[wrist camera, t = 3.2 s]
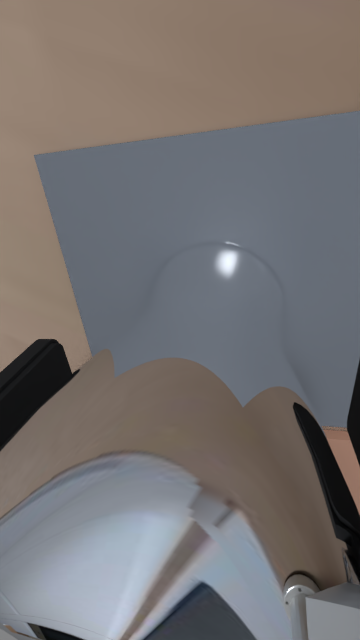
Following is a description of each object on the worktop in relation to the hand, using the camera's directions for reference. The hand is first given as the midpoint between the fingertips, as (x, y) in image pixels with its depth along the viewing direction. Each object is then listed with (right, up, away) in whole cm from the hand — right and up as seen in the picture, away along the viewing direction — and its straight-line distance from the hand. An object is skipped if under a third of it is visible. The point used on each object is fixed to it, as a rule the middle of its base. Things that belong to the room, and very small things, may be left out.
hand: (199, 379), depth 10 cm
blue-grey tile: (+1, +3, +5) cm, 5 cm away
